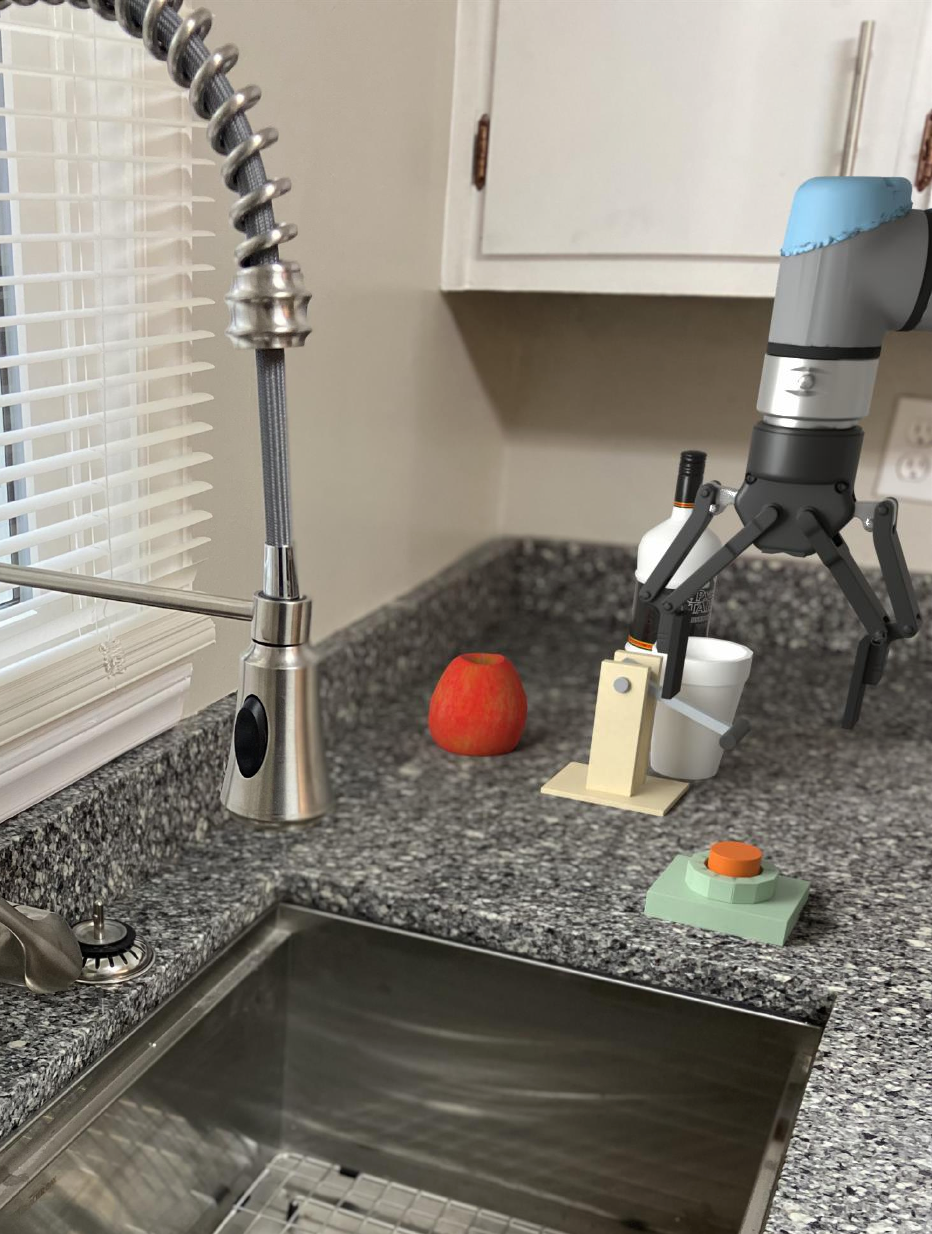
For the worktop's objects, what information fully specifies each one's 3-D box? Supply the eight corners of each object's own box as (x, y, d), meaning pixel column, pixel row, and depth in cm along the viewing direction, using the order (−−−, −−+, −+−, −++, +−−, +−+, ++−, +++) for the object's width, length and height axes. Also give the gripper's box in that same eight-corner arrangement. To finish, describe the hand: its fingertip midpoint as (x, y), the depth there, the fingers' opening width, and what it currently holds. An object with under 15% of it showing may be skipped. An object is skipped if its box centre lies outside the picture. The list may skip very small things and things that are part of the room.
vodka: (628, 719, 168) (666, 441, 154) (709, 735, 163) (756, 449, 149) (595, 740, 161) (632, 451, 147) (678, 757, 156) (724, 460, 142)
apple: (498, 731, 164) (508, 637, 159) (540, 761, 155) (551, 662, 150) (412, 738, 161) (418, 642, 156) (449, 769, 152) (457, 669, 148)
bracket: (687, 794, 146) (709, 657, 140) (661, 823, 139) (683, 680, 133) (570, 772, 152) (586, 639, 146) (539, 799, 145) (555, 660, 139)
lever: (743, 741, 140) (756, 719, 138) (728, 757, 135) (742, 735, 134) (620, 674, 143) (631, 652, 142) (602, 688, 139) (614, 666, 138)
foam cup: (743, 791, 147) (766, 662, 141) (649, 790, 147) (669, 662, 141) (713, 759, 156) (734, 636, 150) (625, 758, 156) (643, 636, 150)
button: (763, 867, 121) (767, 847, 120) (752, 884, 118) (755, 864, 117) (714, 857, 123) (717, 837, 122) (701, 873, 120) (704, 853, 119)
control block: (806, 905, 123) (815, 861, 121) (782, 947, 116) (791, 900, 114) (674, 877, 128) (681, 834, 126) (643, 915, 121) (650, 870, 119)
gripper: (621, 412, 108) (585, 694, 118) (995, 441, 97) (922, 751, 106) (652, 403, 114) (616, 672, 124) (1008, 429, 103) (938, 724, 112)
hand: (757, 709), depth 115 cm, fingers open, 13 cm apart
